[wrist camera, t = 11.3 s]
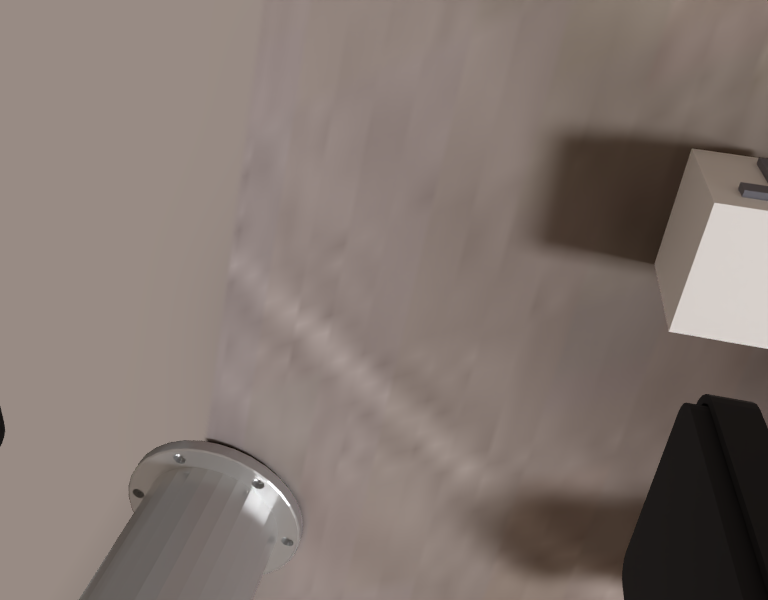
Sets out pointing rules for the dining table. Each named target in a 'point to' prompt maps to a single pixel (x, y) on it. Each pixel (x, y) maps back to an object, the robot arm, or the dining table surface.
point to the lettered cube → (718, 250)
